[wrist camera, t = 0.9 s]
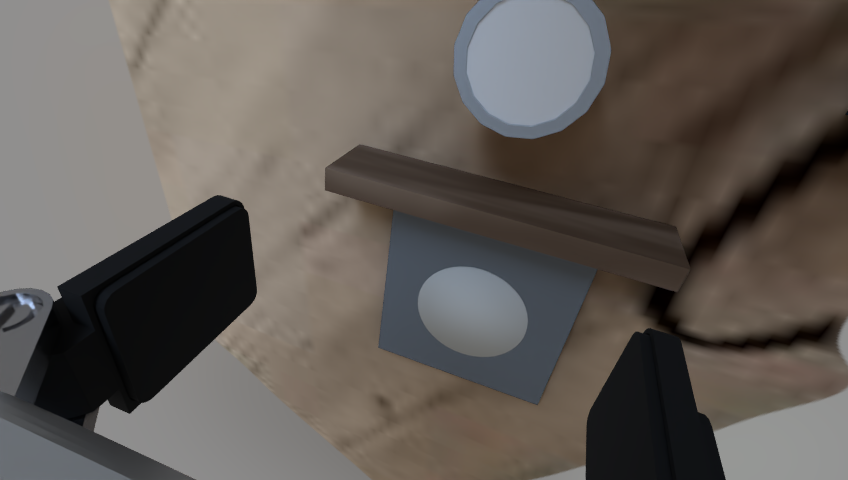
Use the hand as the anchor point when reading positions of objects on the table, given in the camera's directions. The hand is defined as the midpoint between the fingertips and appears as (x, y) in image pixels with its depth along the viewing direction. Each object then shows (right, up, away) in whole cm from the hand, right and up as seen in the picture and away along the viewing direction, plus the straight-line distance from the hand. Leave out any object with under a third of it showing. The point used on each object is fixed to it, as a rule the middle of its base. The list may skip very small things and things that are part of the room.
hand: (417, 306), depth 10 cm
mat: (+4, -4, +25) cm, 26 cm away
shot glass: (+7, +13, +15) cm, 21 cm away
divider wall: (+6, +5, +20) cm, 21 cm away
